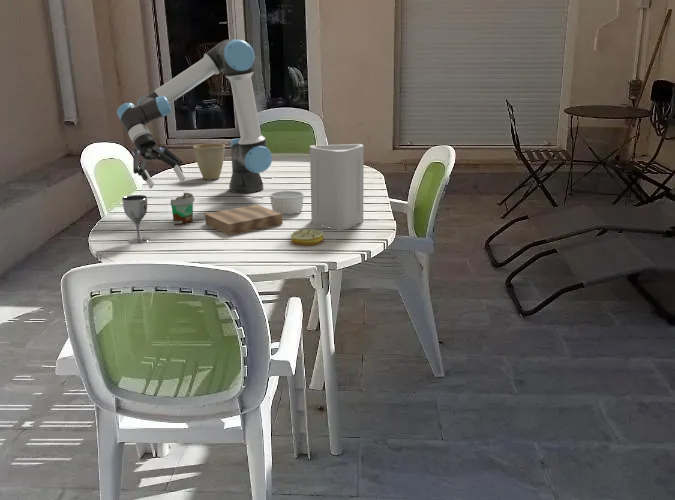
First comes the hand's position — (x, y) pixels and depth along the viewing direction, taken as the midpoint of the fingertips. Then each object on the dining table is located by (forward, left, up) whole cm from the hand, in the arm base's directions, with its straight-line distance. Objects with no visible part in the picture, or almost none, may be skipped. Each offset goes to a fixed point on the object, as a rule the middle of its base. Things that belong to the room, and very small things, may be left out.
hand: (168, 183), depth 253 cm
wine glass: (+21, +20, -14) cm, 32 cm away
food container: (-2, +9, -14) cm, 17 cm away
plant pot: (-46, -57, -14) cm, 74 cm away
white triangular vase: (-44, +47, -14) cm, 66 cm away
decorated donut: (-23, +57, -14) cm, 63 cm away
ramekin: (-40, +19, -14) cm, 47 cm away
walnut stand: (-17, +25, -14) cm, 34 cm away
